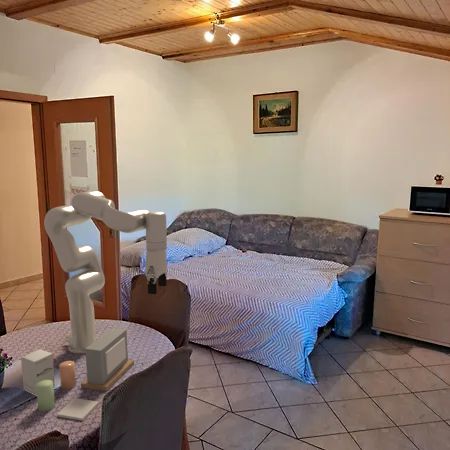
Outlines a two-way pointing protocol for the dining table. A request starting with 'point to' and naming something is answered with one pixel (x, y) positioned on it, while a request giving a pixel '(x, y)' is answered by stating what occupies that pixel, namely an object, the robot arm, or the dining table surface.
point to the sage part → (45, 395)
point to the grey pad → (78, 409)
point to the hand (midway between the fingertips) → (157, 289)
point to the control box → (107, 360)
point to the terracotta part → (67, 375)
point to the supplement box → (37, 369)
